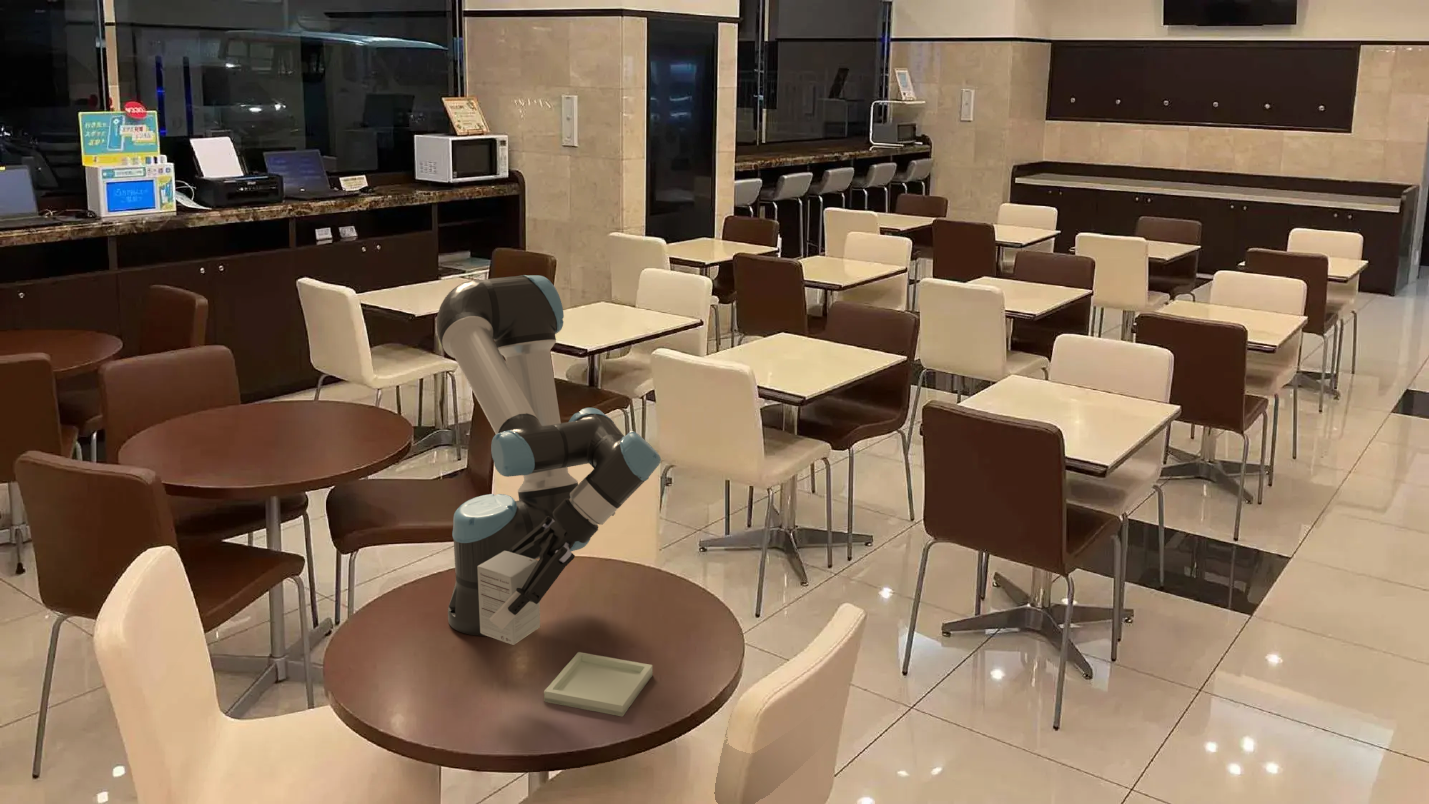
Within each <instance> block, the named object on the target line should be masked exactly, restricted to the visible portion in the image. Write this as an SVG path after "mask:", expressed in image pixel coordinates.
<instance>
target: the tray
mask: <svg viewBox="0 0 1429 804" xmlns="http://www.w3.org/2000/svg"><path fill="white" fill-rule="evenodd" d="M652 676H653V664H647V663H642V662H637V661H633V660H632V661H631V660H626V659H619V658H615V657H609V656H605V655H604V656H603V655H598V654H592V653H587V652H581V651H578V652H577V653H575V655H574V657H572V659H571V660H570V661H569V662H568V663H567V664H566V665H565V666H564V668H563V669H562V670H561V671H560V673H558V675H557V676H556V677H555V678H554V679H553V680H552V681H551V683H550V684H549V685H548V686H547V687H546V688H545V689H544V691H543V700H544V703H550V704H555V705H560V706H565V707H569V708H576V709H581V710H587V711H592V712H596V713H602V714H606V715H613V716H617V717H624V715H625V714H626V712H627V711H628V710H629V708H630V707H631V706H632V704H633V703H634V701H636V699H637V697H638V696H639V695H640V693H641V692H642V690H643V689H644V688H645V686H646V685H647V684H648V683H649V681H650V679H652Z"/></svg>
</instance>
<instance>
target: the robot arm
mask: <svg viewBox="0 0 1429 804" xmlns="http://www.w3.org/2000/svg"><path fill="white" fill-rule="evenodd" d="M563 307H564V306H563V302H562V299H561V297H560V294H559V292H558V290H557V289H556V287H555V285H554V284H553V283H552V282H551V280H550V279H548V278H547V277H545V276H544V275H537V274H536V275H533V274H532V275H529V274H528V275H526V274H523V275H516V276H506V277H503V276H502V277H495V278H485V279H484V278H483V279H478V278H477V279H471V280H466V281H464V282H462V283H461V284H458V285H457V286H455V287H454V288H453V289H451V290H450V291H449V292H448V293H447V295H446V296H445V297H444V299H443V300H442V302H441V304H440V306H439V310H438V312H437V317H436V332H437V333H436V334H437V338H438V340H439V342H440V344H441V346H442V348H443V350H444V352H445V353H446V354H447V355H448V356H449V357H451V358H453V359H455V361H456V362H457V364H458V366H459V368H460V370H461V372H462V373H463V375H464V377H465V380H466V382H467V383H468V385H469V387H470V389H471V391H472V392H473V394H474V396H475V398H476V400H477V402H478V404H479V405H480V408H481V409H482V412H483V413H484V415H485V417H486V419H487V421H488V422H489V424H490V426H491V428H492V430H493V432H494V433H495V435H494V436H493V437H492V440H491V446H490V448H491V449H490V450H491V452H490V453H491V458H492V460H493V465H494V467H495V469H496V471H497V472H498V474H499V475H501V476H503V477H508V478H510V477H519V476H523V481H522V484H520V486H519V488H518V489H517V495H518V500H515V498H514V497H512V496H510V495H508V494H504V493H497V494H494V493H489V494H483V495H480V496H476V497H472V498H470V499H468V500H466V501H465V502H463V503H462V504H460V505H459V506H458V508H457V509H456V510H455V511H454V514H453V522H452V524H453V525H452V526H453V527H452V532H451V534H452V536H451V537H452V539H453V553H454V555H453V556H454V569H455V570H454V571H455V584H454V586H453V590H452V594H451V597H450V601H449V604H448V607H447V620H448V624H449V626H450V627H451V628H452V629H454V630H456V631H457V632H459V633H462V634H466V635H470V636H484V635H483V634H481V633H480V615H479V593H478V569H477V566H478V565H480V564H482V563H484V562H486V561H487V560H489V559H491V558H493V557H494V556H496V555H498V554H500V553H501V552H503V551H509V552H512V553H515V554H519V555H522V556H525V557H529V558H532V559H535V560H538V562H537V564H536V566H535V567H534V569H533V571H532V572H531V574H530V576H529V577H528V579H527V580H526V582H525V584H524V585H523V587H522V589H521V588H517V589H516V591H515V592H514V593H513V594H512V596H511V597H510V598H509V599H508V600H507V601H506V602H505V603H504V604H503V605H502V606H501V607H500V608H499V609H498V610H497V611H496V612H495V613H494V614H493V615H492V616H491V617H490V621H491V622H493V623H494V624H495V625H497V626H498V627H499V628H501V629H502V630H503V629H504V628H505V626H506V625H507V624H508V623H509V622H510V621H511V620H512V619H513V618H514V617H515V616H516V615H517V614H518V613H519V612H520V611H521V610H522V609H523V608H524V607H525V606H526V605H527V603H528V602H534V603H535V604H538V603H539V602H541V601H542V599H543V597H544V596H545V595H546V594H547V592H548V590H550V588H551V587H552V586H553V584H554V583H555V581H557V579H558V578H559V576H560V575H561V574H562V573H563V571H564V569H565V568H566V567H567V566H568V565H569V564H570V563H571V562H572V561H573V560H574V559H575V556H576V555H575V553H573V552H575V551H578V550H581V549H583V548H585V547H586V546H587V545H588V544H589V542H590V541H591V538H592V537H593V536H594V535H595V534H596V532H598V531H599V525H600V526H601V525H604V524H605V523H606V522H607V521H608V520H609V519H610V518H611V517H612V516H614V515H616V511H618V509H619V508H620V507H621V506H622V505H624V503H625V502H626V501H627V500H628V499H629V498H630V497H631V496H632V495H633V494H634V493H635V492H636V491H637V490H638V489H639V488H640V487H641V486H642V485H643V484H644V483H645V482H646V481H647V480H649V477H651V475H652V474H653V473H654V472H655V470H656V469H657V468H658V467H659V466H660V464H661V461H662V459H661V455H660V454H659V453H658V451H657V450H656V449H655V448H653V446H651V444H650V443H648V441H647V440H646V439H644V438H643V437H642V436H641V435H640V434H638V433H637V432H636V431H632V430H631V431H629V432H628V433H627V434H626V435H624V434H623V433H622V431H621V430H620V429H619V428H618V427H617V425H616V423H615V422H614V420H613V419H612V418H610V417H609V416H608V415H606V414H605V413H604V412H603V411H602V410H600V409H598V408H596V407H595V408H594V407H585V408H582V409H580V411H577V412H575V413H574V414H573V415H572V416H571V417H570V419H569V420H568V422H567V421H566V422H561V417H560V409H559V408H560V407H559V404H558V397H557V396H558V395H557V389H556V382H555V377H554V376H555V375H554V370H553V369H554V368H553V365H552V358H551V349H552V348H553V347H554V345H555V344H556V342H557V338H556V337H557V336H556V335H557V334H558V333H560V332H561V330H562V329H563V328H564V327H563V326H564V318H565V315H564V308H563ZM582 465H590V466H591V467H592V468H593V469H592V471H590V472H589V474H587V475H586V476H585V477H584V478H583V479H582V480H581V481H580V482H579V483H578V480H577V479H576V478H574V477H573V476H572V475H571V474H570V472H569V468H570V467H576V466H582Z"/></svg>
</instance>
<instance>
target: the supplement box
mask: <svg viewBox="0 0 1429 804" xmlns="http://www.w3.org/2000/svg"><path fill="white" fill-rule="evenodd" d="M538 561H539V559H532V558H529V557H525V556H522V555H519V554H515V553H512V552H509V551H503V552H501V553H500V554H498V555H496V556H494V557H493V558H491V559H489V560H487V561H486V562H484V563H482V564H480V565H478V566H477V569H478V593H479V615H480V633H481V634H483V635H482V636H487V637H489V638H493V639H495V640H497V641H500V642H503V643H506V644H508V645H509V644H510V645H513V646H515V645H516V644H517V643H518V642H520V641H522V640H523V639H525V638H526V637H527V636H529V635H531V634H532V633H533V632H536V631H537V630H538V629H539V628H541V610H540V609H541V606H540V604H541V603H540V602H541V601H540V602H539V603H538V604H535V603H534V602H528V603H527V605H526V606H525V607H524V608H523V609H522V610H521V611H520V612H519V613H518V614H517V615H516V616H515V617H514V618H513V619H512V620H511V621H510V622H509V623H508V624H507V625H506V626H505V628H504V629H503V630H502V629H501V628H499V627H498V626H497V625H495V624H494V623H493V622H491V621H490V617H491V616H492V615H493V614H494V613H495V612H496V611H497V610H498V609H499V608H500V607H501V606H502V605H503V604H504V603H505V602H506V601H507V600H508V599H509V598H510V597H511V596H512V594H513V593H514V592H515V591H516V589H517V588H521V589H522V587H523V585H524V584H525V582H526V580H527V579H528V577H529V576H530V574H531V572H532V571H533V569H534V567H535V566H536V564H537V562H538Z"/></svg>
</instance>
